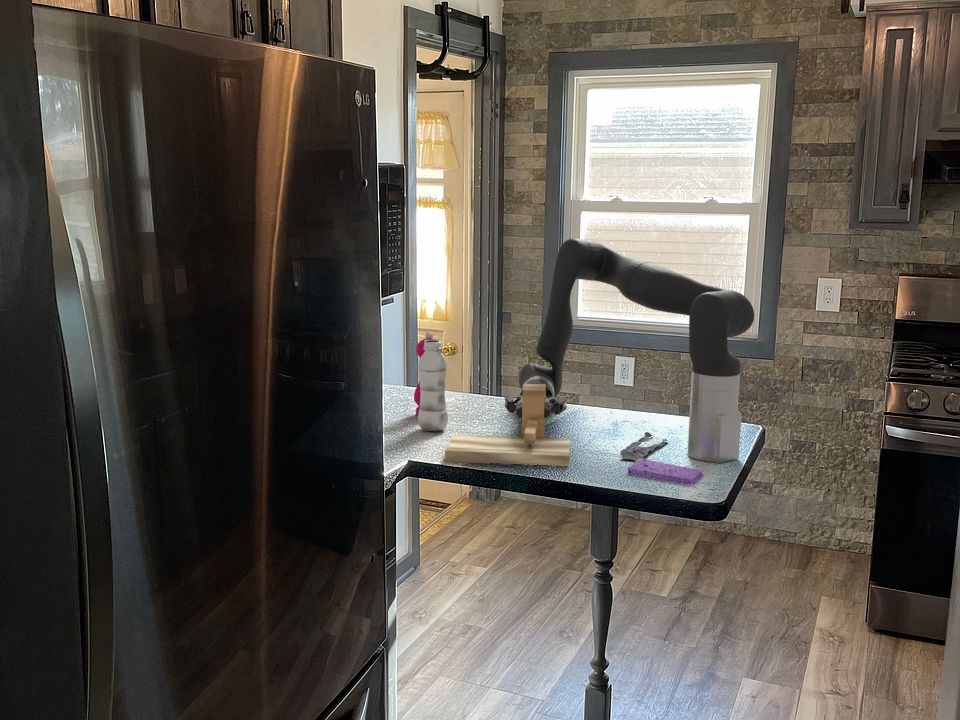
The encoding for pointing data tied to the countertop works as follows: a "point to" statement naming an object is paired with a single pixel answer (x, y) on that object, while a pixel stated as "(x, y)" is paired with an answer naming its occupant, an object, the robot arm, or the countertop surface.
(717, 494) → the countertop surface
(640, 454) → the driftwood
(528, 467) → the countertop surface
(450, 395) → the countertop surface
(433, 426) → the plastic bottle
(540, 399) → the block
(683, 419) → the countertop surface
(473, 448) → the pine board
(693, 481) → the sponges
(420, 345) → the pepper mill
